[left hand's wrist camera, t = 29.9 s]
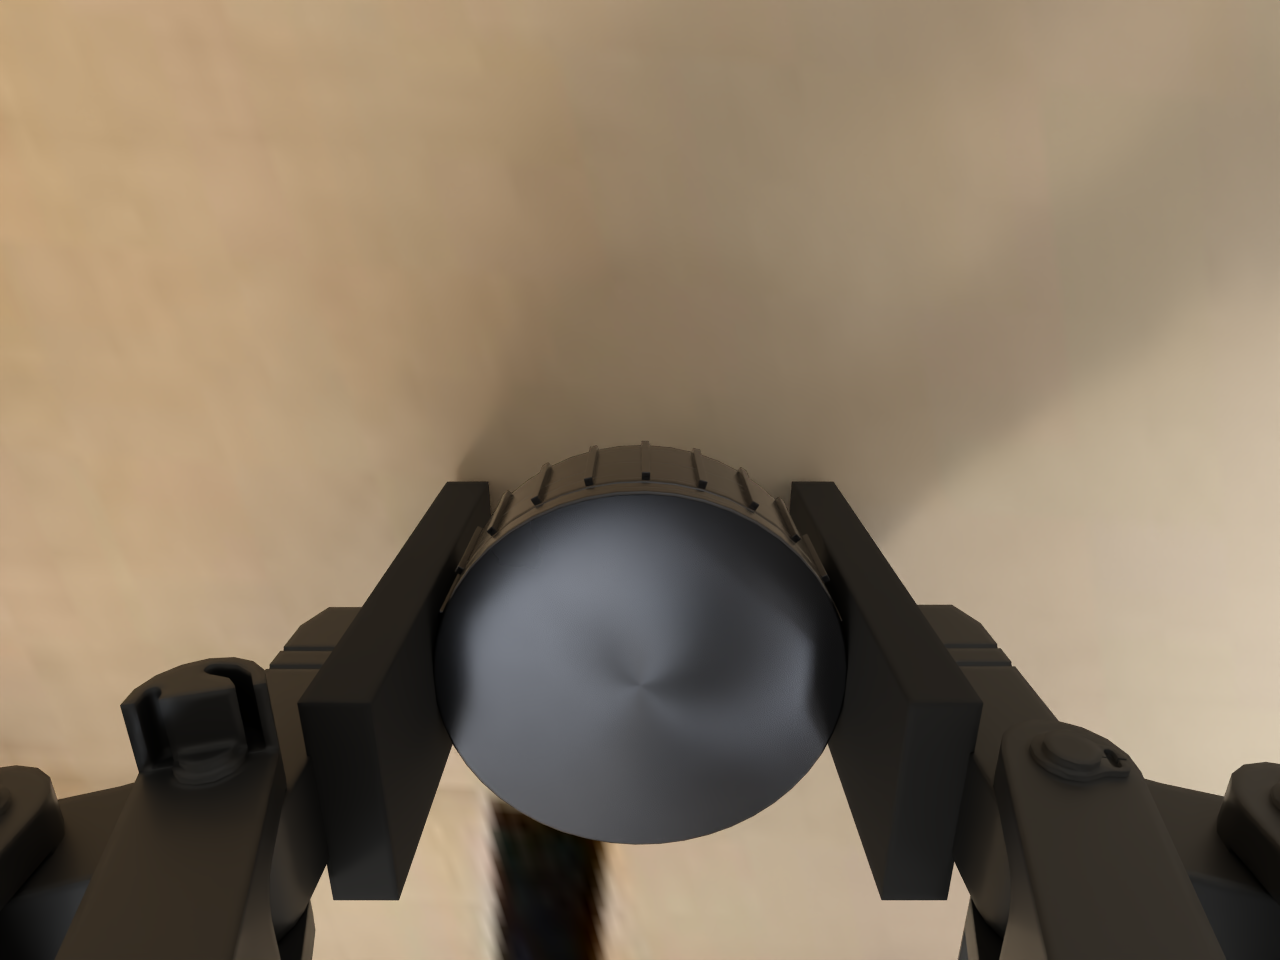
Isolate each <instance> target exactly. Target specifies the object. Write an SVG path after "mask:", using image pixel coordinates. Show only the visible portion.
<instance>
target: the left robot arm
mask: <svg viewBox="0 0 1280 960" xmlns="http://www.w3.org/2000/svg"><path fill="white" fill-rule="evenodd" d="M790 516H791V518H792V520H793V522H794V524H795V525H796V527H797V529H798V530H799V532H800V534H801V535H802V536H803V535H805V534H807V535H808V537H809V539H810V541H811V543H812V545H813V547H814V549H815V551H816V553H817V555H818V557H819V559H820V561H821V563H822V565H823V567H824V569H825V571H826V573H827V575H828V577H829V579H830V581H828V582H826V583H825V585H826V587H827V589H828V591H829V593H830V595H831V597H832V599H833V601H834V604H835V606H836V608H837V610H838V612H839V614H840V616H841V618H842V627H843V631H844V635H845V639H846V646H847V657H848V671H847V680H846V690H845V698H844V703H843V707H842V711H841V714H840V717H839V719H838V722H837V725H836V727H835V730H834V733H833V734H832V736H831V738H830V740H829V742H828V746H829V749H830V752H831V754H832V757H833V760H834V763H835V766H836V769H837V772H838V775H839V778H840V781H841V784H842V786H843V789H844V792H845V795H846V798H847V801H848V804H849V807H850V810H851V813H852V816H853V818H854V821H855V824H856V827H857V830H858V833H859V836H860V839H861V842H862V845H863V848H864V850H865V853H866V856H867V859H868V862H869V865H870V868H871V871H872V874H873V877H874V880H875V882H876V885H877V888H878V891H879V894H880V897H881V900H947V897H948V892H949V887H950V881H951V876H952V870H953V865H954V862H955V864H956V866H957V868H958V870H959V872H960V874H961V876H962V879H963V881H964V883H965V885H966V887H967V889H968V891H969V893H970V895H971V896H970V901H969V906H968V911H967V916H966V921H965V926H964V931H963V936H962V941H961V946H960V951H959V956H958V960H1280V764H1276V763H1269V762H1262V763H1254V764H1245V765H1243V766H1241V767H1240V768H1239V769H1237V770H1236V771H1235V772H1234V773H1232V775H1231V778H1230V781H1229V784H1228V787H1227V790H1226V793H1225V796H1219V795H1214V794H1209V793H1205V792H1200V791H1195V790H1190V789H1186V788H1181V787H1176V786H1172V785H1167V784H1162V783H1158V782H1155V781H1151V780H1147V779H1144V777H1143V775H1142V773H1141V771H1140V770H1139V769H1138V767H1137V766H1136V764H1135V763H1134V762H1133V760H1132V759H1131V758H1130V756H1129V755H1128V754H1127V753H1125V752H1124V751H1123V750H1121V749H1120V748H1118V747H1117V746H1116V745H1114V744H1113V743H1112V742H1110V741H1109V740H1108V739H1106V738H1104V737H1102V736H1099V735H1097V734H1095V733H1093V732H1091V731H1089V730H1087V729H1085V728H1082V727H1078V726H1075V725H1071V724H1067V723H1063V722H1060V721H1058V720H1057V718H1056V717H1055V716H1054V715H1053V713H1052V712H1051V711H1050V710H1049V708H1048V707H1047V706H1046V705H1045V703H1044V702H1043V701H1042V700H1041V698H1040V697H1039V696H1038V695H1037V693H1036V692H1035V691H1034V690H1033V688H1032V687H1031V686H1030V685H1029V683H1028V682H1027V681H1026V680H1025V678H1024V677H1023V676H1022V675H1021V673H1020V672H1019V671H1018V670H1017V668H1016V667H1015V666H1012V665H1011V661H1010V660H1009V658H1008V657H1007V656H1006V655H1005V653H1004V652H1003V651H1002V650H1001V648H997V643H996V642H995V641H994V640H993V638H992V637H991V636H990V635H989V633H988V632H987V631H986V630H985V628H984V627H983V626H982V625H981V623H979V622H978V621H976V620H975V619H973V618H972V617H970V616H969V615H967V614H965V613H964V612H962V611H961V610H959V609H958V608H956V607H954V606H953V605H917V604H916V603H915V601H914V600H913V598H912V597H911V595H910V594H909V592H908V591H907V589H906V588H905V587H904V585H903V584H902V582H901V581H900V579H899V578H898V576H897V575H896V573H895V572H894V570H893V569H892V567H891V566H890V564H889V563H888V561H887V560H886V559H885V557H884V556H883V554H882V553H881V551H880V550H879V548H878V547H877V545H876V544H875V542H874V541H873V539H872V538H871V536H870V535H869V533H868V532H867V531H866V529H865V528H864V526H863V525H862V523H861V522H860V520H859V519H858V517H857V516H856V514H855V513H854V511H853V510H852V508H851V507H850V506H849V504H848V503H847V501H846V500H845V498H844V497H843V495H842V494H841V492H840V491H839V489H838V488H837V486H836V485H835V483H834V482H792V491H791V504H790ZM490 517H491V511H490V497H489V484H488V482H447V483H446V484H445V486H444V487H443V489H442V490H441V492H440V493H439V494H438V496H437V497H436V499H435V500H434V502H433V503H432V505H431V506H430V508H429V509H428V511H427V512H426V514H425V515H424V517H423V518H422V520H421V521H420V522H419V524H418V525H417V527H416V528H415V530H414V531H413V533H412V534H411V536H410V537H409V539H408V540H407V542H406V543H405V545H404V546H403V548H402V549H401V550H400V552H399V553H398V555H397V556H396V558H395V559H394V561H393V562H392V564H391V565H390V567H389V568H388V570H387V571H386V573H385V574H384V576H383V577H382V578H381V580H380V581H379V583H378V584H377V586H376V587H375V589H374V590H373V592H372V593H371V595H370V596H369V598H368V599H367V601H366V602H365V604H364V605H363V606H362V607H329V608H327V609H326V610H324V611H323V612H321V613H319V614H318V615H316V616H315V617H313V618H312V619H310V620H309V621H307V622H305V623H304V624H302V625H301V626H300V627H299V628H298V630H297V631H296V632H295V633H294V635H293V636H292V637H291V638H290V640H289V641H288V642H287V643H286V645H285V646H284V651H280V652H279V654H278V655H277V656H276V657H275V659H274V660H273V661H272V662H271V664H270V668H269V669H266V670H264V669H263V668H261V667H260V666H259V665H257V664H256V663H255V662H254V661H250V660H245V659H240V658H235V657H229V658H209V659H205V660H201V661H196V662H192V663H188V664H183V665H180V666H178V667H175V668H173V669H171V670H168V671H166V672H163V673H161V674H158V675H156V676H154V677H153V678H151V679H150V680H148V681H147V682H145V683H144V684H142V685H140V686H139V687H137V688H136V689H134V690H133V691H132V693H131V694H130V695H129V696H128V697H127V698H126V699H125V700H124V702H123V703H122V704H121V705H120V706H121V710H122V714H123V717H124V721H125V724H126V728H127V731H128V735H129V739H130V742H131V746H132V749H133V753H134V756H135V760H136V764H137V767H138V771H139V774H138V776H137V779H136V781H135V783H131V784H127V785H124V786H120V787H115V788H111V789H106V790H101V791H97V792H92V793H87V794H82V795H78V796H73V797H68V798H64V799H59V800H57V797H56V794H55V791H54V788H53V785H52V782H51V779H50V777H49V776H48V775H46V774H45V773H44V772H42V771H41V770H40V769H39V768H34V767H25V766H17V765H15V766H8V767H2V768H0V960H312V954H313V946H314V937H315V924H314V917H313V911H312V906H311V901H310V898H311V896H312V894H313V892H314V890H315V888H316V886H317V884H318V881H319V879H320V877H321V875H322V873H323V871H324V869H325V867H326V864H327V868H328V873H329V879H330V884H331V889H332V895H333V900H399V898H400V895H401V893H402V890H403V887H404V884H405V881H406V878H407V875H408V872H409V869H410V866H411V863H412V861H413V858H414V855H415V852H416V849H417V846H418V843H419V840H420V837H421V834H422V831H423V829H424V826H425V823H426V820H427V817H428V814H429V811H430V808H431V805H432V802H433V799H434V797H435V794H436V791H437V788H438V785H439V782H440V779H441V776H442V773H443V770H444V767H445V765H446V762H447V759H448V756H449V753H450V750H451V747H452V744H453V743H452V741H451V739H450V737H449V735H448V733H447V731H446V729H445V727H444V725H443V722H442V718H441V715H440V712H439V709H438V706H437V702H436V694H435V686H434V676H433V650H434V643H435V637H436V631H437V628H438V625H439V622H440V619H441V618H439V617H438V613H439V610H440V608H441V606H442V604H443V602H444V600H445V598H446V596H447V594H448V591H449V589H450V587H451V585H452V583H453V581H454V579H455V577H456V575H457V573H456V572H455V570H456V568H457V566H458V564H459V562H460V560H461V558H462V556H463V554H464V552H465V550H466V548H467V546H468V544H469V542H470V540H471V538H472V536H473V534H474V532H475V530H476V528H477V527H478V526H479V527H481V528H483V527H484V526H485V524H486V523H487V521H488V520H489V519H490Z"/></svg>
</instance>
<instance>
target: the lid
mask: <svg viewBox="0 0 1280 960" xmlns="http://www.w3.org/2000/svg"><path fill="white" fill-rule="evenodd" d="M455 572H456V573H457V575H456V577H455V579H454V581H453V583H452V585H451V587H450V589H449V591H448V594H447V596H446V598H445V600H444V602H443V604H442V606H441V608H440V610H439V613H438V617H439V618H441V619H440V622H439V625H438V628H437V631H436V637H435V643H434V650H433V676H434V686H435V694H436V702H437V706H438V709H439V712H440V715H441V718H442V722H443V725H444V727H445V729H446V731H447V733H448V735H449V737H450V739H451V741H452V743H453V745H454V747H455V748H456V750H457V751H458V753H459V754H460V756H461V757H462V759H463V760H464V762H465V763H466V765H467V766H468V767H469V768H470V769H471V771H472V772H473V773H474V774H475V775H476V776H477V777H478V779H479V780H480V781H481V782H482V783H483V784H484V785H485V786H487V787H488V788H489V789H490V790H491V791H492V792H493V793H494V794H496V795H497V796H498V797H499V798H500V799H502V800H503V801H505V802H506V803H508V804H509V805H510V806H512V807H513V808H515V809H516V810H518V811H519V812H521V813H523V814H525V815H527V816H528V817H530V818H532V819H534V820H536V821H538V822H540V823H542V824H544V825H547V826H549V827H552V828H554V829H557V830H559V831H562V832H565V833H568V834H572V835H576V836H579V837H583V838H586V839H592V840H597V841H603V842H609V843H621V844H635V845H637V844H662V843H670V842H677V841H685V840H689V839H693V838H697V837H701V836H705V835H709V834H712V833H715V832H718V831H720V830H723V829H726V828H729V827H732V826H734V825H736V824H738V823H740V822H742V821H744V820H746V819H748V818H750V817H752V816H754V815H756V814H757V813H759V812H761V811H762V810H764V809H765V808H767V807H769V806H770V805H772V804H773V803H775V802H776V801H777V800H778V799H780V798H781V797H782V796H783V795H785V794H786V793H787V792H788V791H790V790H791V789H792V788H793V787H794V786H795V785H796V784H797V783H798V782H799V781H800V780H801V779H802V778H803V777H804V776H805V775H806V774H807V773H808V771H809V770H810V769H811V767H812V766H813V765H814V763H815V762H816V761H817V759H818V758H819V757H820V755H821V754H822V753H823V751H824V749H825V747H826V745H827V744H828V742H829V740H830V738H831V736H832V734H833V733H834V730H835V727H836V725H837V722H838V719H839V717H840V714H841V711H842V707H843V703H844V698H845V690H846V680H847V671H848V657H847V646H846V639H845V635H844V631H843V627H842V618H841V616H840V614H839V612H838V610H837V608H836V606H835V604H834V601H833V599H832V597H831V595H830V593H829V591H828V589H827V587H826V585H825V583H826V582H828V581H830V579H829V577H828V575H827V573H826V571H825V569H824V567H823V565H822V563H821V561H820V559H819V557H818V555H817V553H816V551H815V549H814V547H813V545H812V543H811V541H810V539H809V537H808V535H807V534H805V535H803V536H802V535H801V534H800V532H799V530H798V529H797V527H796V525H795V524H794V522H793V520H792V518H791V516H790V514H789V512H788V509H787V507H786V505H785V503H784V501H783V500H782V499H781V498H780V497H778V498H777V499H776V500H775V499H774V498H773V497H772V496H771V495H770V494H768V493H767V492H766V491H765V490H764V489H763V488H762V487H761V486H760V485H758V484H757V483H755V482H754V481H752V480H751V479H750V478H749V476H748V474H747V471H746V470H745V469H743V468H741V467H740V468H739V470H738V471H737V470H735V469H733V468H731V467H729V466H727V465H725V464H723V463H721V462H719V461H717V460H714V459H711V458H708V457H706V456H703V455H701V451H700V450H699V449H696V448H693V450H692V452H689V451H685V450H680V449H675V448H671V447H660V446H649V441H642V443H641V445H638V446H618V447H612V448H606V449H600V450H598V447H597V446H592V447H590V450H589V452H588V453H584V454H581V455H577V456H574V457H571V458H569V459H566V460H564V461H562V462H560V463H557V464H555V465H553V466H551V465H550V464H549V463H546V464H544V465H543V466H542V469H541V471H540V473H539V474H537V475H535V476H534V477H532V478H530V479H529V480H527V481H526V482H525V483H524V484H523V485H521V486H520V487H519V488H518V489H516V490H515V491H514V492H513V493H511V492H510V491H508V490H507V491H506V492H505V493H504V494H503V496H502V498H501V501H500V503H499V505H498V507H497V509H496V510H495V511H494V513H493V514H492V516H491V517H490V519H489V520H488V521H487V523H486V524H485V526H484V527H483V528H481V527H479V526H478V527H477V528H476V530H475V532H474V534H473V536H472V538H471V540H470V542H469V544H468V546H467V548H466V550H465V552H464V554H463V556H462V558H461V560H460V562H459V564H458V566H457V568H456V570H455Z"/></svg>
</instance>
